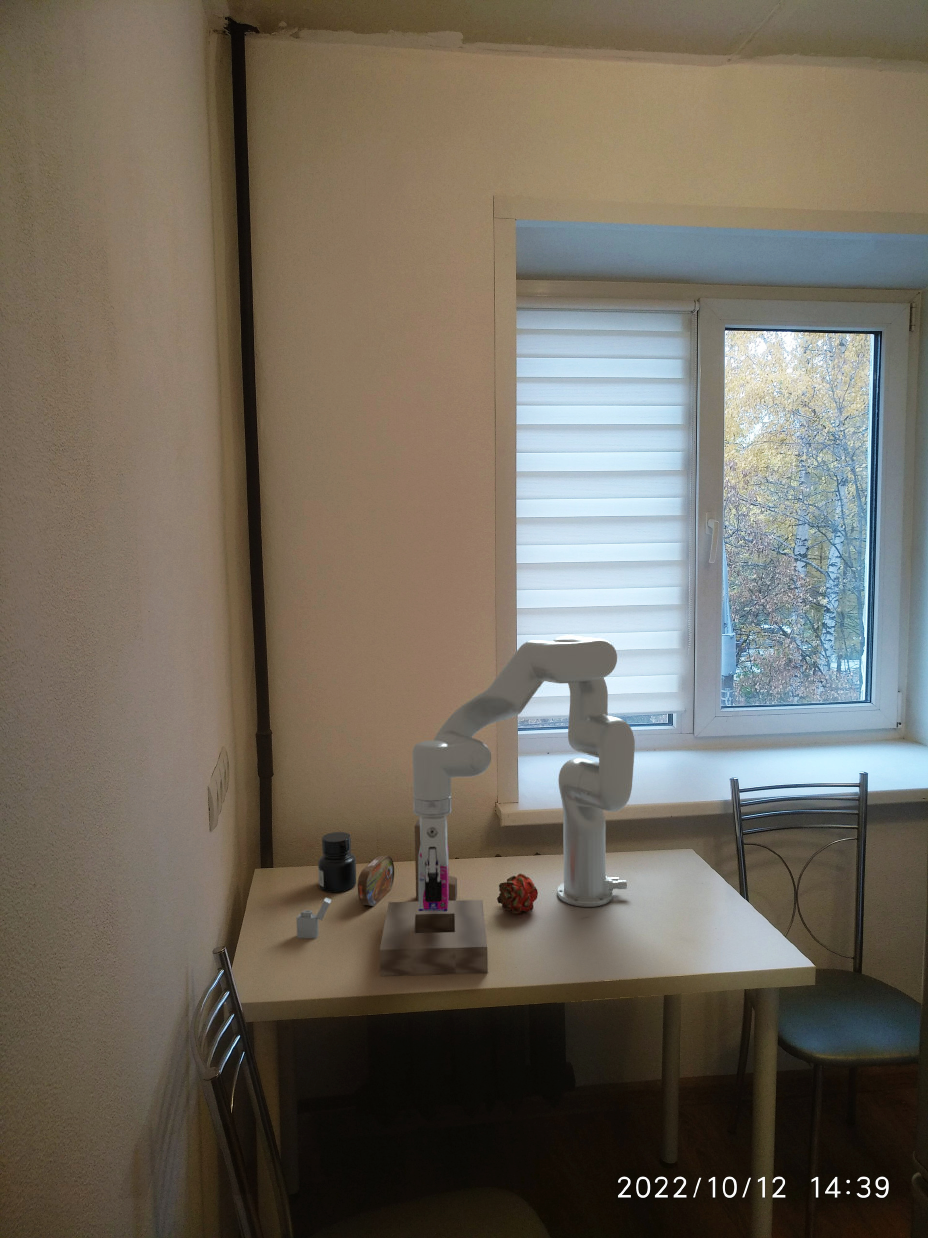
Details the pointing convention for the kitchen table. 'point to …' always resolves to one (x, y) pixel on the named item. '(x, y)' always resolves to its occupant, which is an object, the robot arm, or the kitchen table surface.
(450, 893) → the wooden block
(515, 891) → the dragon fruit
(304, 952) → the kitchen table surface
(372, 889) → the tin
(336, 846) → the ink bottle
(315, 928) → the lighter
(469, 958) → the socket block
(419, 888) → the supplement box
